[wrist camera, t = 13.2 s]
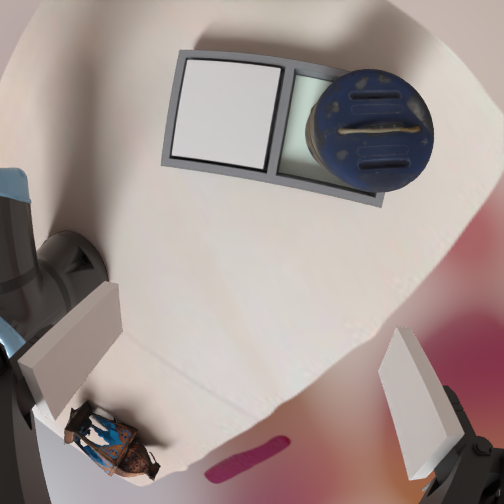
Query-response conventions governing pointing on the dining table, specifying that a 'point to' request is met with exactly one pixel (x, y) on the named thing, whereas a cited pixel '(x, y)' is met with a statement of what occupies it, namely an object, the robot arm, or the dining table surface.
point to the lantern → (110, 445)
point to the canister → (371, 131)
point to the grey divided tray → (250, 120)
